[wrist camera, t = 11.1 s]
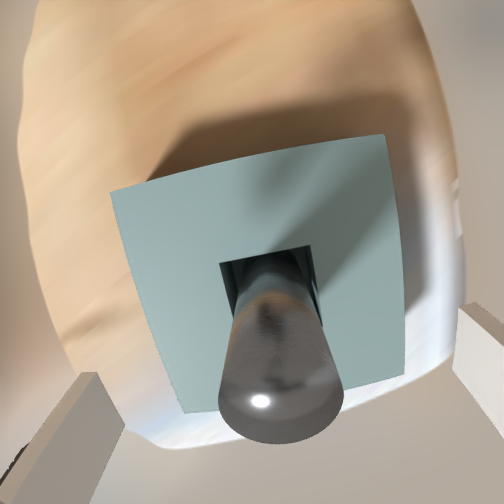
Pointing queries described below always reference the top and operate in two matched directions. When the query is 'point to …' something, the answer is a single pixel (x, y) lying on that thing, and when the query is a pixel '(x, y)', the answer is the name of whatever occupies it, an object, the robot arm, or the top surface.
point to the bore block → (266, 241)
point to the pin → (277, 357)
